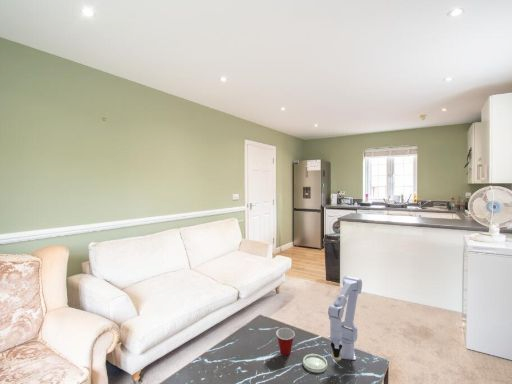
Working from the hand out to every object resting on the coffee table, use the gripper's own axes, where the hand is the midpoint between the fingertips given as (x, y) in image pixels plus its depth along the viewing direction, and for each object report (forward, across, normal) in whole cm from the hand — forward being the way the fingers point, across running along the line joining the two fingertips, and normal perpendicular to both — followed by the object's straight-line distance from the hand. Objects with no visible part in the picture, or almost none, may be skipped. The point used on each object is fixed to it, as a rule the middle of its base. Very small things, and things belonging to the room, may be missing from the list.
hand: (336, 354), depth 144 cm
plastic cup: (+9, -9, -28) cm, 31 cm away
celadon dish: (+8, -2, -11) cm, 14 cm away
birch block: (+2, 0, 0) cm, 2 cm away
